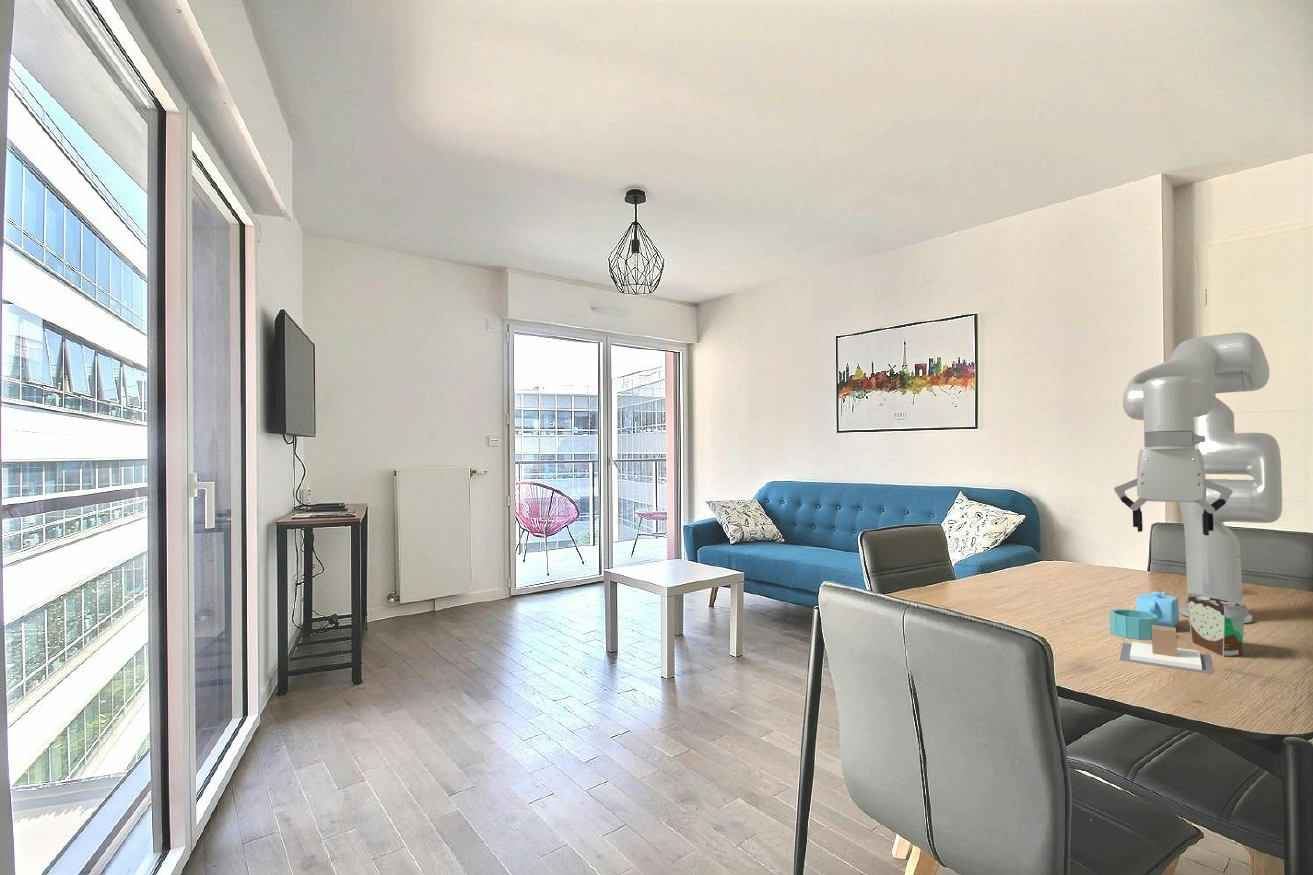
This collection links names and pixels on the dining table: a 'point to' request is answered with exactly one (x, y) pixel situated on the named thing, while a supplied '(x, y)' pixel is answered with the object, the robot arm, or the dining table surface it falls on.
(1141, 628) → the bowl
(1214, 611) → the food container
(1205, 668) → the mat
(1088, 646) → the dining table surface
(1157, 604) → the teapot
